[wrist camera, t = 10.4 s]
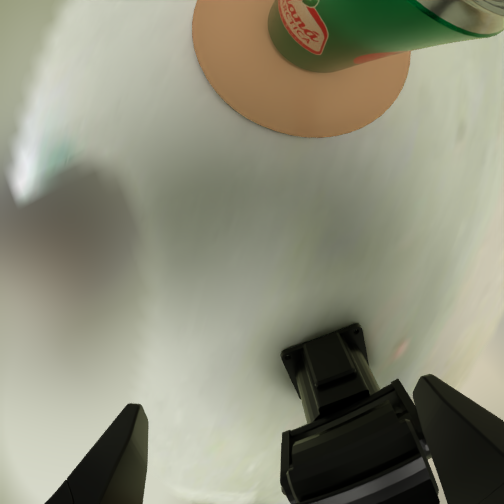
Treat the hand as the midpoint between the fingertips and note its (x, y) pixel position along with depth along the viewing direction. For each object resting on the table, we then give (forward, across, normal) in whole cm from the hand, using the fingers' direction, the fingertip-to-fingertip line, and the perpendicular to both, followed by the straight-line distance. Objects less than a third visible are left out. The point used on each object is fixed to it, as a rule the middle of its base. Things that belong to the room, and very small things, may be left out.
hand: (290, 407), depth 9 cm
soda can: (+11, -3, -13) cm, 17 cm away
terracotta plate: (+12, -3, -13) cm, 18 cm away
